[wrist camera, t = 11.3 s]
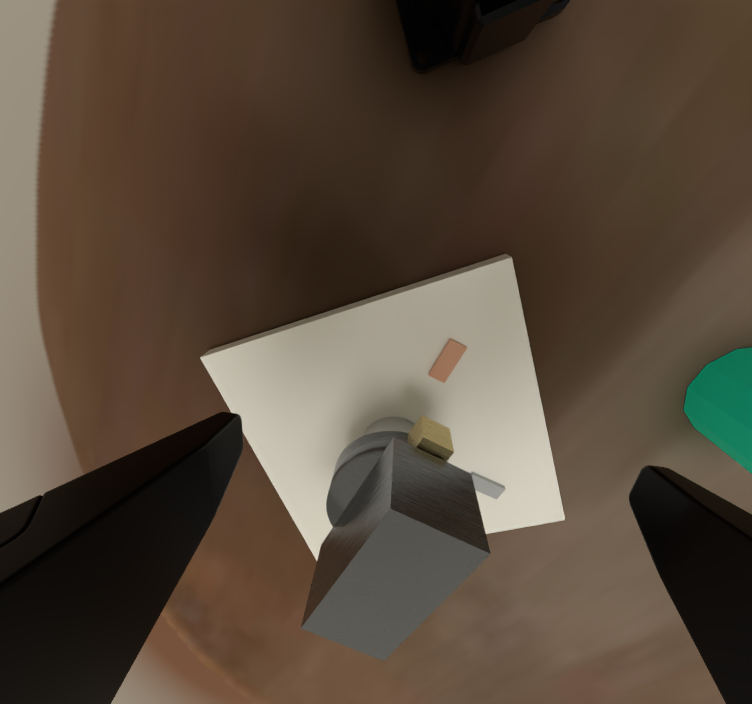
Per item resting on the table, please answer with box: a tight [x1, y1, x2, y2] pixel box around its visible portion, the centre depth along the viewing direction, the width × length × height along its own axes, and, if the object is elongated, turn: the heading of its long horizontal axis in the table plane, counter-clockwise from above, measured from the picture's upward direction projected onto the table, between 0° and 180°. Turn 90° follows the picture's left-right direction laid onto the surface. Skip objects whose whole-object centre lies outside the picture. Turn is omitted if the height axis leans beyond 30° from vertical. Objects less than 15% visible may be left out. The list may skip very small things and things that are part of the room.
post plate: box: [200, 254, 565, 560], centre depth 22 cm, size 18×18×4 cm
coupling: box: [301, 415, 490, 661], centre depth 17 cm, size 8×6×6 cm
